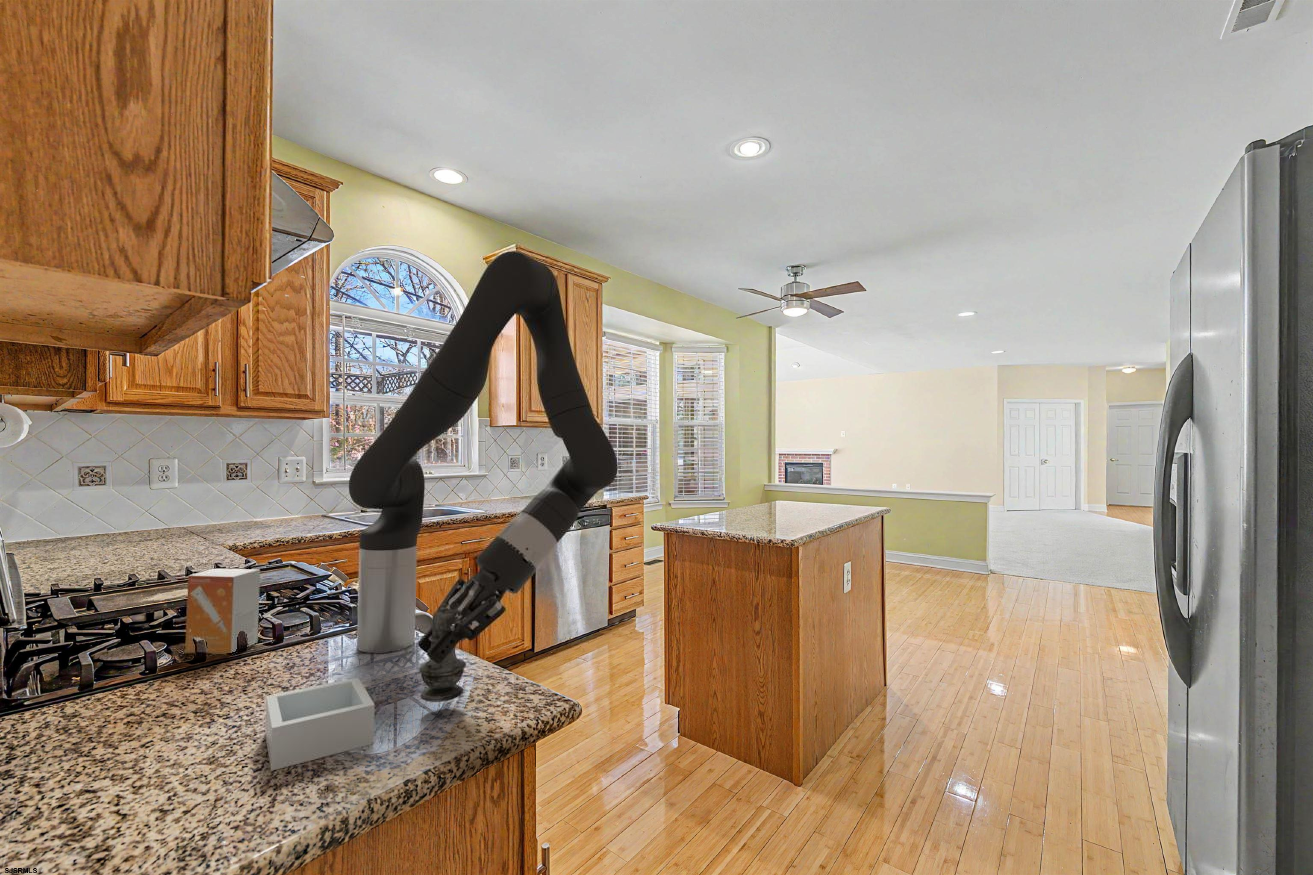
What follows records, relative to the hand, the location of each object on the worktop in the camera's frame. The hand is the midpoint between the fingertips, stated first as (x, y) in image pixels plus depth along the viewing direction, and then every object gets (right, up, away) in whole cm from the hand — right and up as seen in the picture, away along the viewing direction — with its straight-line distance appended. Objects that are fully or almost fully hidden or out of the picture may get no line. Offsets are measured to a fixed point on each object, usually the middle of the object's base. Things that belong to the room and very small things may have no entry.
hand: (427, 653), depth 76 cm
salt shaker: (+1, -6, +1) cm, 6 cm away
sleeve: (-10, -7, -7) cm, 14 cm away
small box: (-44, -8, +24) cm, 51 cm away
